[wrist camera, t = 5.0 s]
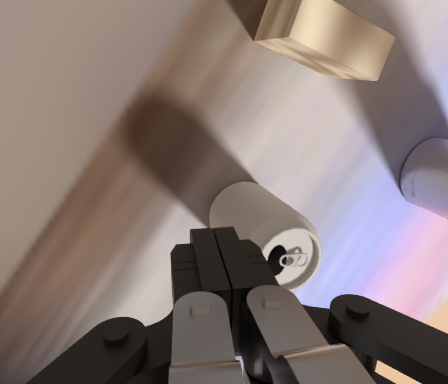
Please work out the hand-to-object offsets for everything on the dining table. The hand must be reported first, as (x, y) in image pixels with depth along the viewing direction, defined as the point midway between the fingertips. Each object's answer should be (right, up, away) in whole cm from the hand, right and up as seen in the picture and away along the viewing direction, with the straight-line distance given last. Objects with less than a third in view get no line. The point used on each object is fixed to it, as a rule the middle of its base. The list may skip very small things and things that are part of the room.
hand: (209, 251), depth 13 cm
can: (+2, 0, +29) cm, 29 cm away
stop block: (+8, +17, +25) cm, 31 cm away
